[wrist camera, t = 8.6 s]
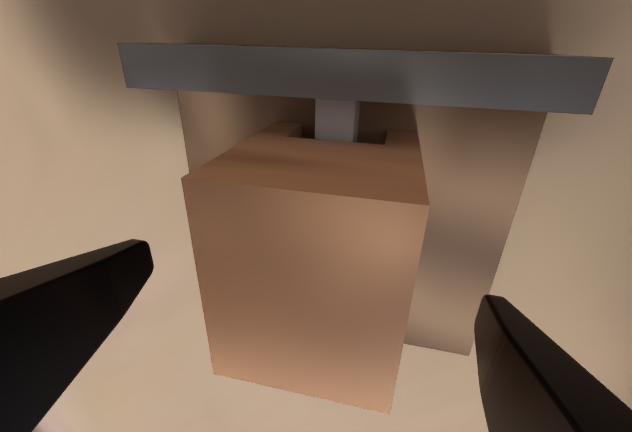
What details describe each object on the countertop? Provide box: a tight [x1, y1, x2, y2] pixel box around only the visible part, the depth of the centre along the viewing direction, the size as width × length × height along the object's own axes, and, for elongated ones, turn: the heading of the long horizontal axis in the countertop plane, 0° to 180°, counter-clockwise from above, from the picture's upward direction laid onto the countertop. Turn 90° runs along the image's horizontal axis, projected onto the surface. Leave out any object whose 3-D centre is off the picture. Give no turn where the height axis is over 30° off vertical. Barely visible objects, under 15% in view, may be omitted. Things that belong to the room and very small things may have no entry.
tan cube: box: [181, 122, 430, 414], centre depth 11 cm, size 6×5×6 cm
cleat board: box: [117, 43, 614, 356], centre depth 13 cm, size 12×12×4 cm
